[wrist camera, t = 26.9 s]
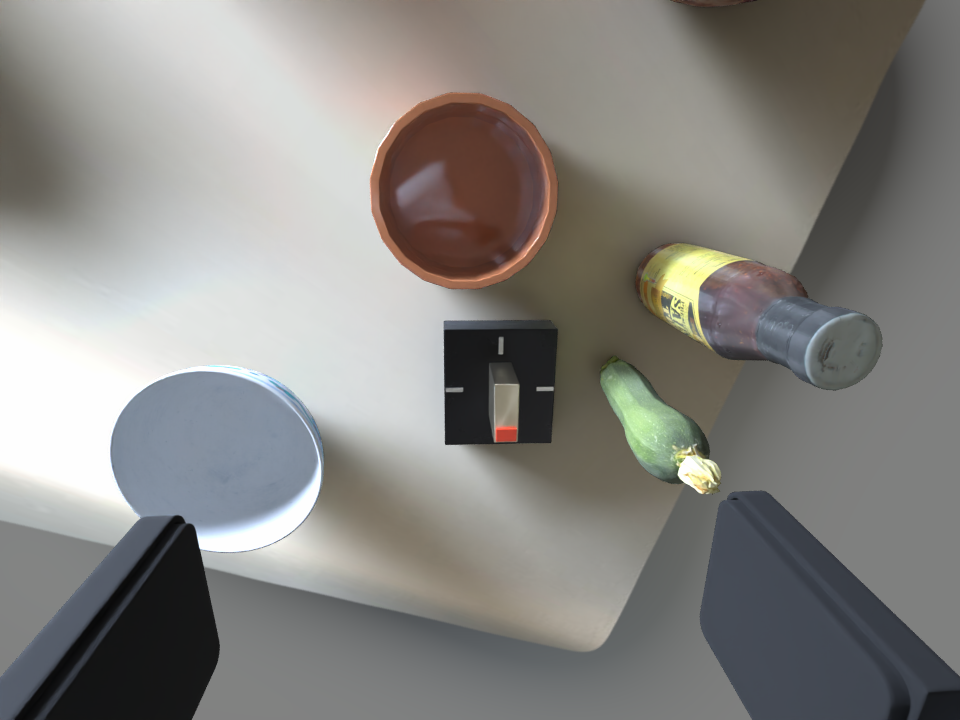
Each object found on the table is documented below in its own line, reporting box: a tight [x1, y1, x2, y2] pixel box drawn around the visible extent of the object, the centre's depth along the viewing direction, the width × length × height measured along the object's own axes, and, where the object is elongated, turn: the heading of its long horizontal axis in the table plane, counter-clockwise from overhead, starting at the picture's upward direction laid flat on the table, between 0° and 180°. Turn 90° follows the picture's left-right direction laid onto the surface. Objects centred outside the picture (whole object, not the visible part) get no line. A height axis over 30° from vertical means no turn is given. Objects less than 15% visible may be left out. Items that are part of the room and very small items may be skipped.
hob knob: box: [489, 362, 520, 442], centre depth 40 cm, size 5×2×5 cm, turn 0°
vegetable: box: [600, 355, 721, 494], centre depth 37 cm, size 4×4×20 cm
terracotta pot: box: [370, 92, 558, 289], centre depth 38 cm, size 12×12×7 cm
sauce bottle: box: [635, 243, 882, 390], centre depth 35 cm, size 6×6×20 cm
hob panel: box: [444, 320, 558, 445], centre depth 44 cm, size 10×9×3 cm
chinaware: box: [109, 365, 324, 553], centre depth 42 cm, size 15×15×8 cm
